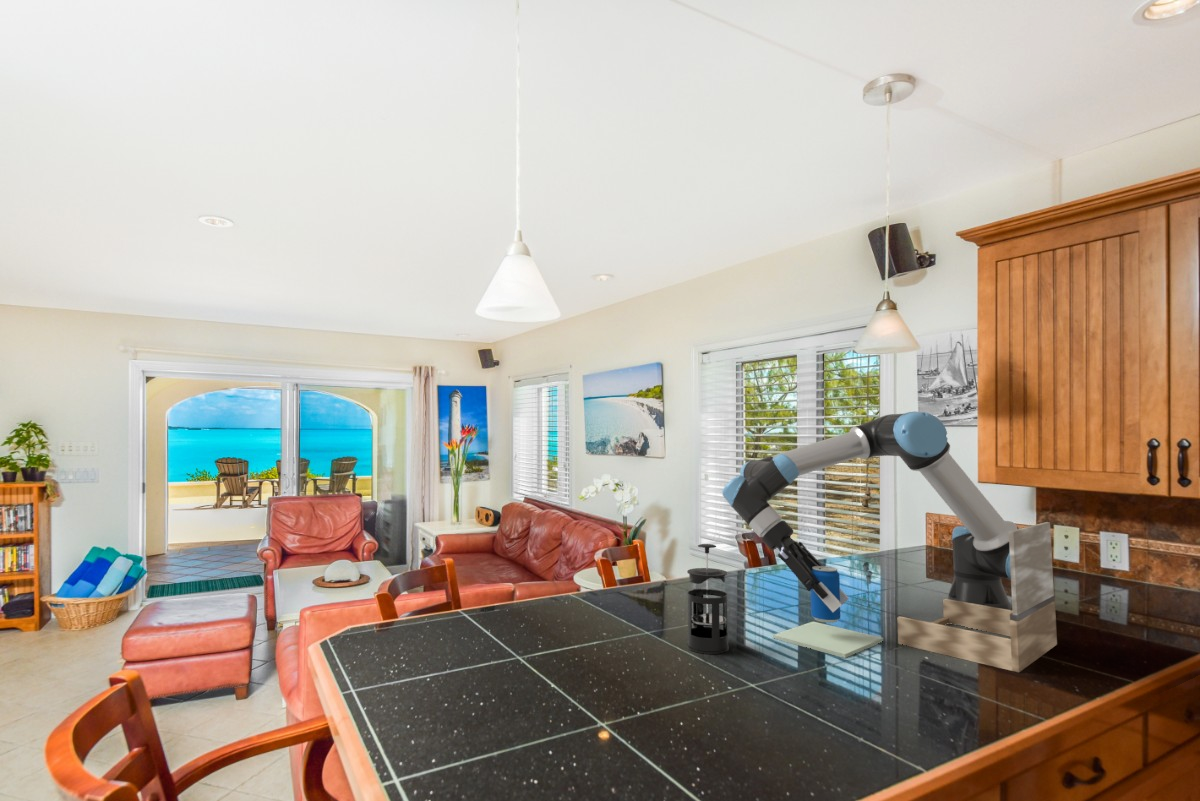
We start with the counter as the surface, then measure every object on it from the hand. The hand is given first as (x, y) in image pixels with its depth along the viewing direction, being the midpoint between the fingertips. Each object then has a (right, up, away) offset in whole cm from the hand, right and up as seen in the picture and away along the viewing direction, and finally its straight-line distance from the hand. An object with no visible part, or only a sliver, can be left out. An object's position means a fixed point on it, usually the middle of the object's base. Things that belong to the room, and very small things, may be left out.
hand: (841, 605), depth 144 cm
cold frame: (+31, -9, -1) cm, 32 cm away
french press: (-32, -8, -4) cm, 33 cm away
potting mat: (-3, -9, +1) cm, 9 cm away
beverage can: (-3, -4, +2) cm, 5 cm away
